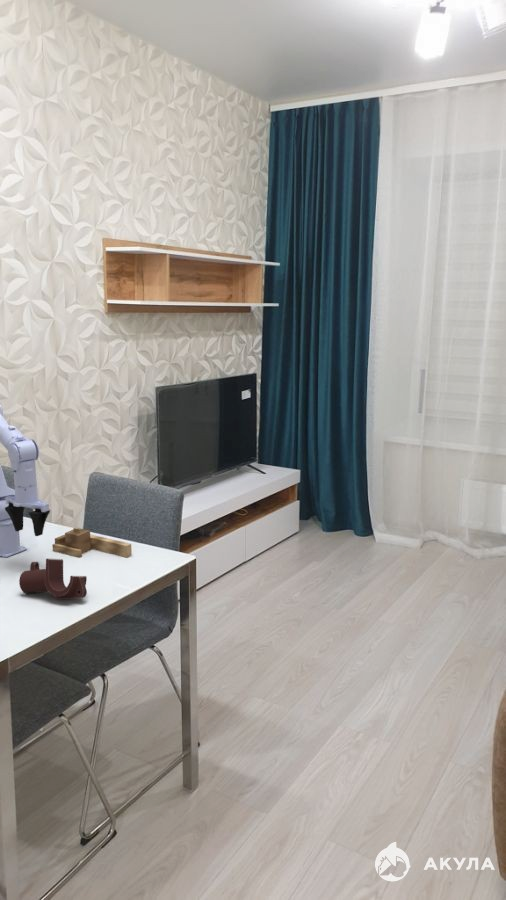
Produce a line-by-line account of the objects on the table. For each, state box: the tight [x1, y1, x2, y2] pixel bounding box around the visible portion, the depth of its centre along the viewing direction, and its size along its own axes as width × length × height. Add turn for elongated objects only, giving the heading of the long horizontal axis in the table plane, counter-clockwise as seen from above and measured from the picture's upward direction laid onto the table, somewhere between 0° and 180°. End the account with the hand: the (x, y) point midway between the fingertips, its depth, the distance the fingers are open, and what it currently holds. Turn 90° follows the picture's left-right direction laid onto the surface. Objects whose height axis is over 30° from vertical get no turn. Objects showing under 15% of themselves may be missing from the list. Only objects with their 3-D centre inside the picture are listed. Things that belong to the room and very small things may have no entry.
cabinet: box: [64, 527, 92, 555], centre depth 208 cm, size 5×5×7 cm
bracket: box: [18, 558, 88, 600], centre depth 178 cm, size 6×17×10 cm, turn 73°
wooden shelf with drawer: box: [52, 533, 133, 559], centre depth 207 cm, size 22×9×4 cm, turn 60°
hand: (28, 532), depth 196 cm, fingers open, 7 cm apart
